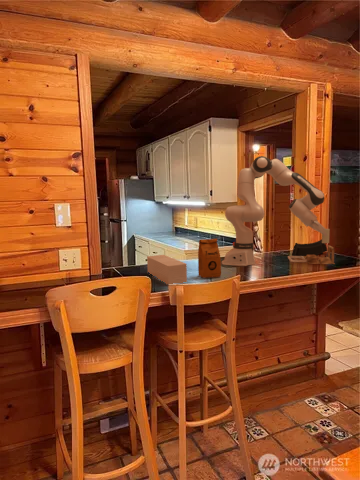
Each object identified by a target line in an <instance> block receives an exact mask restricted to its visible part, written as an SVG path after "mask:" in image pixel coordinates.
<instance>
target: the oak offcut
mask: <svg viewBox="0 0 360 480" xmlns="http://www.w3.org/2000/svg"><path fill="white" fill-rule="evenodd" d="M306 257H307V258H309V259H313V258H317V259H318V255H307V256H306Z"/></svg>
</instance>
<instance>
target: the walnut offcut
mask: <svg viewBox="0 0 360 480" xmlns="http://www.w3.org/2000/svg"><path fill="white" fill-rule="evenodd" d="M305 259H306V260H307V262H306V263H307V264H308V263H317V260H318V257H317V258H313V259H309V258H307V256H305Z"/></svg>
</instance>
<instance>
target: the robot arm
mask: <svg viewBox="0 0 360 480" xmlns="http://www.w3.org/2000/svg"><path fill="white" fill-rule="evenodd" d="M265 174H268V175H270V176H271V177H272V178H273V180H274V181H275V182H276V183H277V184H279V186H283V187H286V186H287V187H288V186H291V185H296V186H299V187H300V188H301V189H302V190H303V191H304V192H306V194H305V195H304V196H303V197H301V198H294V199H293V200H292V201H291V202H290V204H289V205H288V209H289V210H290V212H291V213H292V214H293V215H294V216H295V217H296V218H298V219H299V220H300V222H301V223H302V224H303V225H304V226H306V227H310V228H311V229H312V230H314V231H316V232H317V233H320V234H321V235H322V234H323V235H324V236H327V233H326V232H325V230H326V229H327V228H325V226H323V225H322V224H321V223H320V221H318V216H317V215H316V214H315V213H314V212H313V211H312V210H313V209H315V208H316V207H318V206H320V205H321V204H323V203H324V201H325V198H326V197H325V193H324V192H323V191H322V190H320V189H318V187H316V186H315V185H314V184H312V183H311V182H310V181H309V180H307V179H306V178H305V177H304V176H302V174H300V173H298V172H294V171H293V170H290V168H288V167H287V166H286V164H284V163H283V161H281V160H280V159H278V158H274V159H270V158H268V157H266V156H263V155H260V156H257V157H256V158H254V160H253V161H252V163H251V165H250V167H245V168H241V170H240V171H239V174H238V178H237V185H236V186H237V188H236V196H237V198H238V199H240V200H241V201H243V202H244V203H245V204H242V205H240V204H239V205H230V206H227V207H226V209H225V210H224V211H225V212H224V215H225V218H226V220H227V221H228V222H230V224H231V225H232V226H233V229H234V231H235V241H233V242H232V247H233V248H231V249H230V250H228V252H226V253H225V256H224V259H223V260H221V265H223V266H239V267H247V266H253V265H255V264H256V261H255V256H254V248H255V247H254V245H255V244H254V231H253V230H252V229H251V228H250V227H248V226H246V225H245V223H255V222H260V221H262V220H263V219H264V217H265V209H264V208H263V206H262V205H260V204H259V203H258V202H257V200H256V198H255V197H256V196H255V179H256V180H257V179H260V178H262V177H263V176H264V175H265Z"/></svg>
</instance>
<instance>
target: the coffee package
mask: <svg viewBox="0 0 360 480" xmlns="http://www.w3.org/2000/svg"><path fill="white" fill-rule="evenodd" d="M218 244H219V243H218V238H209V239H208V238H207V239H205V238H203V239H198V251H197V256H198V257H197V259H198V260H197V262H198V264H197V265H198V266H197V268H198V269H197V270H198V276H199V277H201V278H204V279H209V278H221V276H222V260H221V253H220V250H219V245H218Z"/></svg>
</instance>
